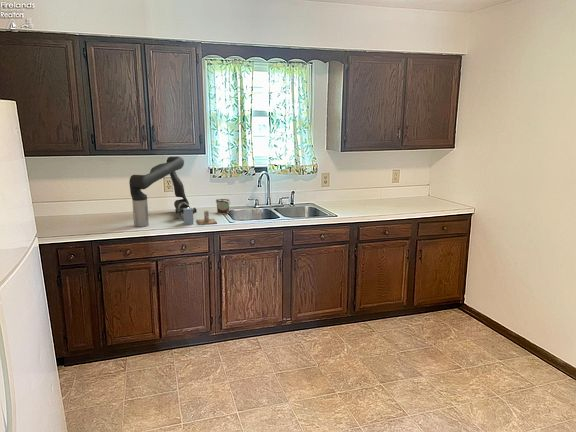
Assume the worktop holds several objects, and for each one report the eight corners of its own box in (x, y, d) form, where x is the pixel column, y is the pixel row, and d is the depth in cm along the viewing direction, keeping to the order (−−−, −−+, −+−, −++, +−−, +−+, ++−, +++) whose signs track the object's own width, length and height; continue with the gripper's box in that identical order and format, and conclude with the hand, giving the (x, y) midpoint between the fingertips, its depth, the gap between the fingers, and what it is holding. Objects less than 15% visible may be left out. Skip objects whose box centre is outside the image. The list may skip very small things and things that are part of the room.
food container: (234, 213, 325) (233, 199, 323) (228, 214, 320) (228, 201, 318) (221, 211, 332) (221, 198, 330) (216, 212, 327) (215, 199, 325)
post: (199, 224, 289) (198, 213, 287) (196, 220, 300) (196, 209, 298) (217, 223, 293) (216, 212, 291) (213, 219, 304) (213, 208, 302)
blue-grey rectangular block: (184, 224, 289) (184, 210, 286) (183, 222, 294) (183, 208, 292) (193, 224, 291) (192, 209, 288) (192, 222, 296) (191, 207, 293)
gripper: (173, 203, 308) (176, 208, 293) (194, 202, 313) (197, 206, 298) (174, 214, 310) (176, 218, 295) (194, 212, 315) (197, 217, 300)
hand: (187, 212), depth 296 cm, fingers open, 8 cm apart
